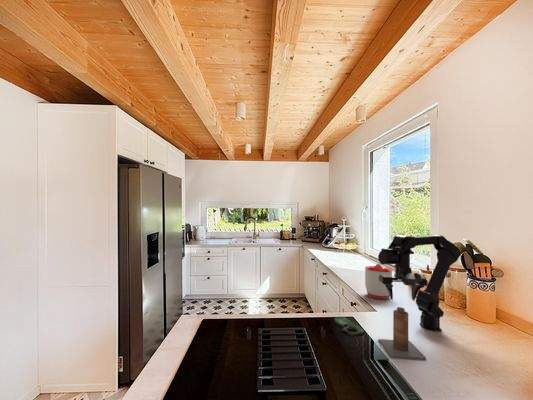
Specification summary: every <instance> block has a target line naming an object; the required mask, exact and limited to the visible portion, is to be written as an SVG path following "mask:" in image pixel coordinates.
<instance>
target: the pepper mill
mask: <svg viewBox="0 0 533 400" xmlns="http://www.w3.org/2000/svg"><path fill="white" fill-rule="evenodd" d="M392 313H393V315H392V316H393V317H392V321H393V322H392V325H393V326H392V327H393V329H392V330H393V331H392V333H393V338H392V340H393V347H394V348H395V349H397V350H400V351H408V341H409V313H408V311H405V308H404V307H400V306H398V307H396V309H394V310H393V312H392Z"/></svg>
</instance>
